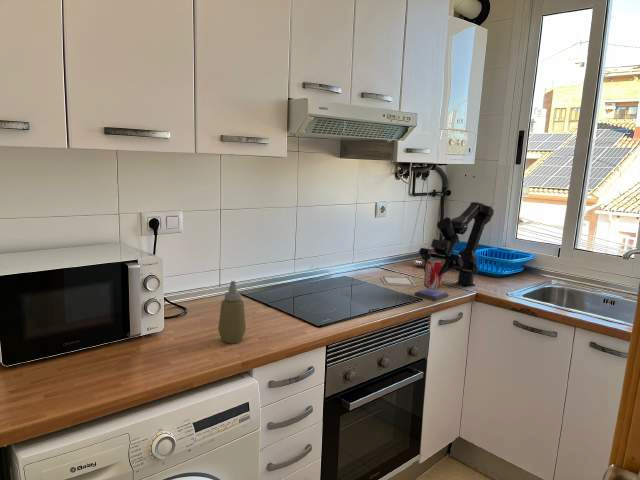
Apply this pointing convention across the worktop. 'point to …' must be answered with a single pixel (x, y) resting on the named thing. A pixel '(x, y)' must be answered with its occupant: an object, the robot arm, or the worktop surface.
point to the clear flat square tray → (397, 281)
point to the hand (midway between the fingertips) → (432, 273)
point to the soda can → (433, 274)
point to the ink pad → (431, 294)
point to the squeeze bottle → (232, 316)
